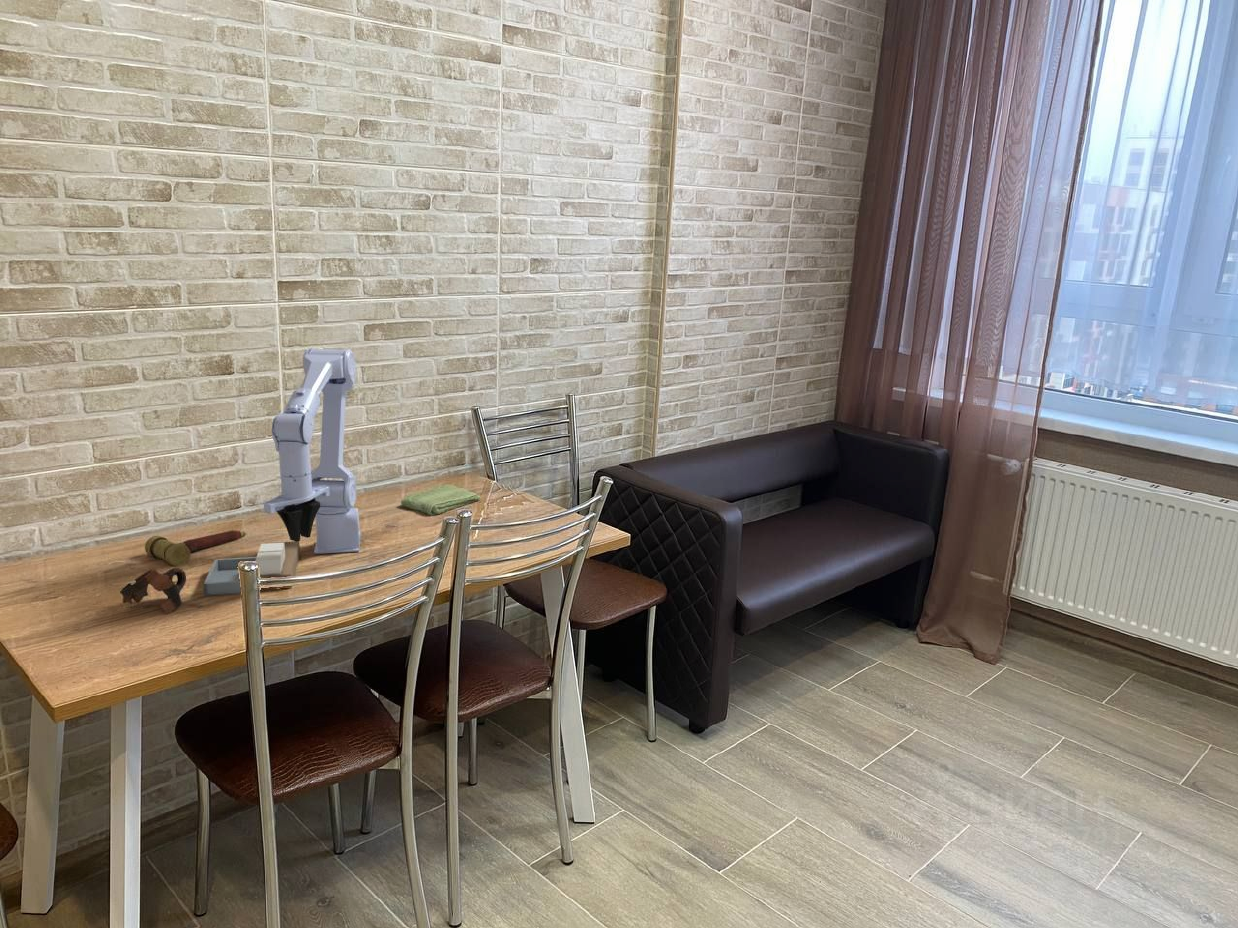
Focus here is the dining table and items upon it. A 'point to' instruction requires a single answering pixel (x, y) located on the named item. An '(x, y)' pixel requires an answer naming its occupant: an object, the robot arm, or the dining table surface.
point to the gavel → (186, 546)
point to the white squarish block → (270, 562)
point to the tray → (224, 577)
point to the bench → (287, 563)
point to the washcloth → (439, 499)
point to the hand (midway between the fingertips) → (300, 538)
